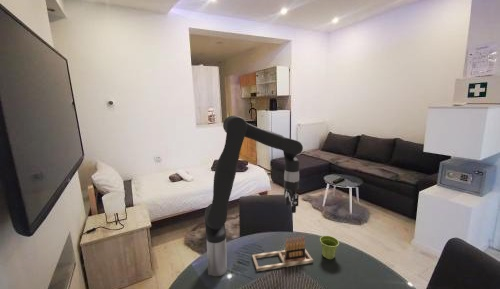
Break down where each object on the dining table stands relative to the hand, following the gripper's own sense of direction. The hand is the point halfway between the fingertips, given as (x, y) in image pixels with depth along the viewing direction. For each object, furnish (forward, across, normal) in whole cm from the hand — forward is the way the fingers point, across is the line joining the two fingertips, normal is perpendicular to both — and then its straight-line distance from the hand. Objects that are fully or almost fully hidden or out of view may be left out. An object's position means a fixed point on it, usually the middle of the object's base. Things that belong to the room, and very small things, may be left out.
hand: (290, 208), depth 120 cm
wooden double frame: (+26, +5, -5) cm, 27 cm away
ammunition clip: (+25, +4, +2) cm, 26 cm away
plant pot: (+26, +6, +20) cm, 33 cm away
